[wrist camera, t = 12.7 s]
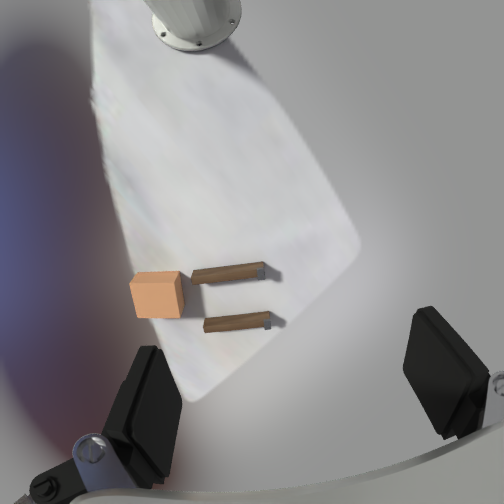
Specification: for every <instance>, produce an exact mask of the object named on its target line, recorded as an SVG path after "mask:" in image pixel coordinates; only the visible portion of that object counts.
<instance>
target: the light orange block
mask: <svg viewBox="0 0 504 504" xmlns="http://www.w3.org/2000/svg"><path fill="white" fill-rule="evenodd" d="M130 288H131V293H132V297H133V301H134V305H135V309H136V313H137V317H138V318H180V317H181V314H182V311H183V308H184V306H185V303H184V297H183V291H182V284H181V278H180V271H165V272H138V273H137V274H136V275H135V277H134V278H133V279H132V281H131V282H130Z"/></svg>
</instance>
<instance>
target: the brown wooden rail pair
mask: <svg viewBox="0 0 504 504" xmlns="http://www.w3.org/2000/svg"><path fill="white" fill-rule="evenodd" d="M254 277H258V280H263V279H265V274H264V267H263V262H256V263H248V264H240V265H232V266H224V267H216V268H208V269H200V270H193V273H192V276H191V280H192V284H193V285H196V284H204V283H213V282H221V281H230V280H238V279H246V278H254ZM258 327H264V328H265V330H268V329H271V323H270V315H269V311H266V312H258V313H249V314H241V315H232V316H222V317H213V318H205V320H204V325H203V329H204V332H205V333H210V332H221V331H231V330H240V329H249V328H258Z"/></svg>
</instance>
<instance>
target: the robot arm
mask: <svg viewBox="0 0 504 504" xmlns="http://www.w3.org/2000/svg"><path fill="white" fill-rule="evenodd" d="M143 1H144V2H145V3H146V4H147V6H148V7H149V8H150V9H151V11H152V12H153V14H152V25H153V29H154V31H155V33H156V35H157V36H158V38H159V39H160V40H161V41H162V42H163V43H165V44H166V45H168V46H170V47H172V48H174V49H177V50H183V51H198V50H204V49H207V48H211V47H213V46H215V45H217V44H219V43H221V42H222V41H224V40H225V39H227V38H228V37H229V36H230V35H231V34H232V33H233V31H234V30H235V29H236V28H237V26H238V24H239V21H240V18H241V3H240V0H143ZM231 23H234V24H231ZM164 35H166V36H165V37H163V36H164ZM199 44H202V45H201V46H198V45H199ZM403 371H404V374H405V376H406V378H407V379H408V381H409V383H410V385H411V387H412V388H413V390H414V392H415V394H416V395H417V397H418V399H419V401H420V403H421V405H422V406H423V408H424V410H425V412H426V414H427V416H428V417H429V419H430V421H431V423H432V425H433V427H434V429H435V431H436V432H437V434H439V435H440V434H441V435H442V437H443V439H444V440H446V439H448V438H450V437H452V436H455V435H456V436H457V438H458V440H456V441H454V442H452V443H450V444H447V445H445V446H442V447H440V448H438V449H435V450H433V451H430V452H428V453H425V454H423V455H420V456H417V457H414V458H412V459H409V460H406V461H403V462H400V463H397V464H394V465H391V466H388V467H384V468H381V469H378V470H374V471H370V472H367V473H363V474H359V475H355V476H351V477H346V478H342V479H338V480H332V481H328V482H322V483H316V484H311V485H304V486H298V487H290V488H282V489H272V490H260V491H244V492H183V491H167V490H151V488H152V485H153V483H156V484H164V479H165V477H169V474H170V469H171V463H172V457H173V452H174V446H175V440H176V435H177V430H178V425H179V419H180V414H181V409H182V398H181V395H180V393H179V391H178V388H177V386H176V383H175V381H174V379H173V376H172V374H171V371H170V369H169V366H168V364H167V361H166V358H165V356H164V353H163V351H162V349H158V348H157V346H155V345H154V346H141V347H140V348H139V350H138V352H137V355H136V357H135V359H134V361H133V364H132V366H131V369H130V371H129V373H128V375H127V378H126V380H125V381H123V383H122V384H121V386H120V389H119V391H118V394H117V396H116V399H115V401H114V404H113V406H112V408H111V411H110V413H109V416H108V418H107V421H106V423H105V426H104V428H103V431H102V434H101V435H100V434H89V435H85V436H83V437H82V438H80V439H79V440H78V441H77V442H76V444H75V446H74V447H73V458H72V459H70V460H68V461H66V462H64V463H62V464H60V465H58V466H56V467H54V468H52V469H50V470H48V471H46V472H44V473H42V474H40V475H38V476H36V477H35V478H34V479H33V480H32V482H31V485H30V490H29V491H30V494H29V495H28V496H27V495H26V494H24V495H23V496H22V497H21V498H20V499H18V500H17V501H16V502H15V503H14V504H504V371H499V372H496V373H494V374H493V375H492V376H490V374H489V373H488V372H489V370H488V368H487V367H486V366H485V365H484V364H483V362H482V361H481V360H480V359H479V358H478V356H477V355H476V354H475V353H474V352H473V350H472V349H471V348H470V347H469V346H468V345H467V343H466V342H465V341H464V340H463V339H462V338H461V337H460V336H459V335H458V333H457V332H456V331H455V330H454V329H453V328H452V327H451V326H450V324H449V323H448V322H447V321H446V320H445V319H444V318H443V317H442V316H441V315H440V314H439V312H438V311H437V310H436V309H435V308H434V307H433V306H428V307H424V308H420V309H418V310H417V312H416V313H415V314H414V315H413V319H412V325H411V330H410V335H409V340H408V345H407V350H406V355H405V359H404V364H403Z"/></svg>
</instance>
